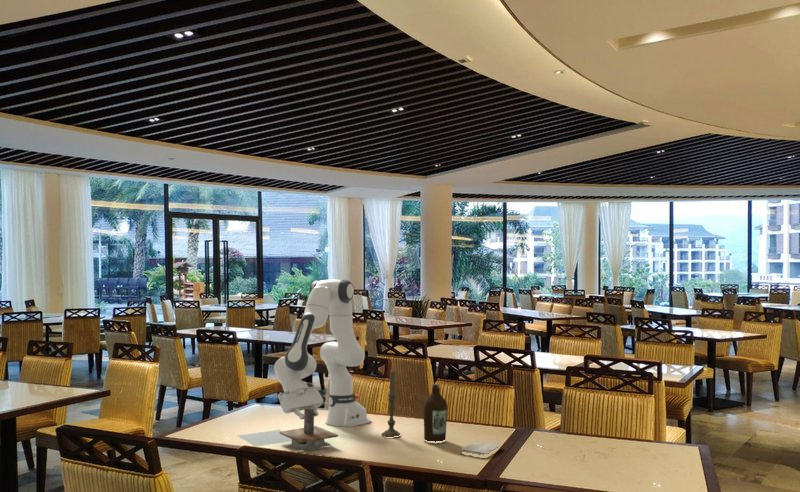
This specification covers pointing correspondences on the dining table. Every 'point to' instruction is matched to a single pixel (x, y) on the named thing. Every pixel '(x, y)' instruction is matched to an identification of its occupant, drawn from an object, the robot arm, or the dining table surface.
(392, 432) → the candlestick holder
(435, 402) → the olive oil
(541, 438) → the dining table surface
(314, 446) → the dish
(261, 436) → the mat
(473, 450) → the washcloth
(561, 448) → the dining table surface
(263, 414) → the dining table surface
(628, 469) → the dining table surface
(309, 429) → the lid
